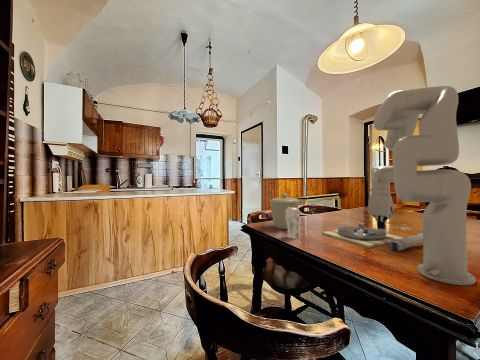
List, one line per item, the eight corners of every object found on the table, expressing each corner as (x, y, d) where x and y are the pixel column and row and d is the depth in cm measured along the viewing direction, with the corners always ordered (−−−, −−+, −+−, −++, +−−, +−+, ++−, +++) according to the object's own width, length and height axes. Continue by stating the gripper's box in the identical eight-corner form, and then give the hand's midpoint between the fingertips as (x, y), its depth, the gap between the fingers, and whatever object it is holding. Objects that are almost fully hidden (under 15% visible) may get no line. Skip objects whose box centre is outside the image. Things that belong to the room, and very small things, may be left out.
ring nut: (335, 236, 104) (335, 229, 104) (340, 227, 122) (340, 221, 122) (387, 242, 93) (387, 234, 93) (385, 231, 111) (384, 224, 111)
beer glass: (283, 236, 112) (282, 207, 112) (294, 235, 114) (293, 206, 114) (291, 240, 105) (290, 209, 105) (302, 238, 108) (302, 208, 107)
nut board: (367, 248, 90) (367, 245, 90) (321, 234, 114) (321, 231, 114) (405, 239, 100) (405, 237, 100) (356, 228, 124) (356, 226, 124)
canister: (268, 224, 141) (267, 192, 141) (296, 224, 140) (295, 191, 140) (271, 231, 123) (270, 194, 123) (303, 230, 122) (302, 193, 122)
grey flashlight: (386, 240, 89) (427, 225, 97) (388, 255, 89) (428, 240, 97) (399, 243, 84) (441, 228, 92) (401, 260, 84) (442, 243, 92)
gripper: (361, 191, 110) (361, 226, 111) (391, 193, 97) (391, 234, 97) (371, 190, 113) (371, 224, 114) (402, 192, 99) (402, 231, 100)
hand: (381, 229), depth 106 cm, fingers closed
